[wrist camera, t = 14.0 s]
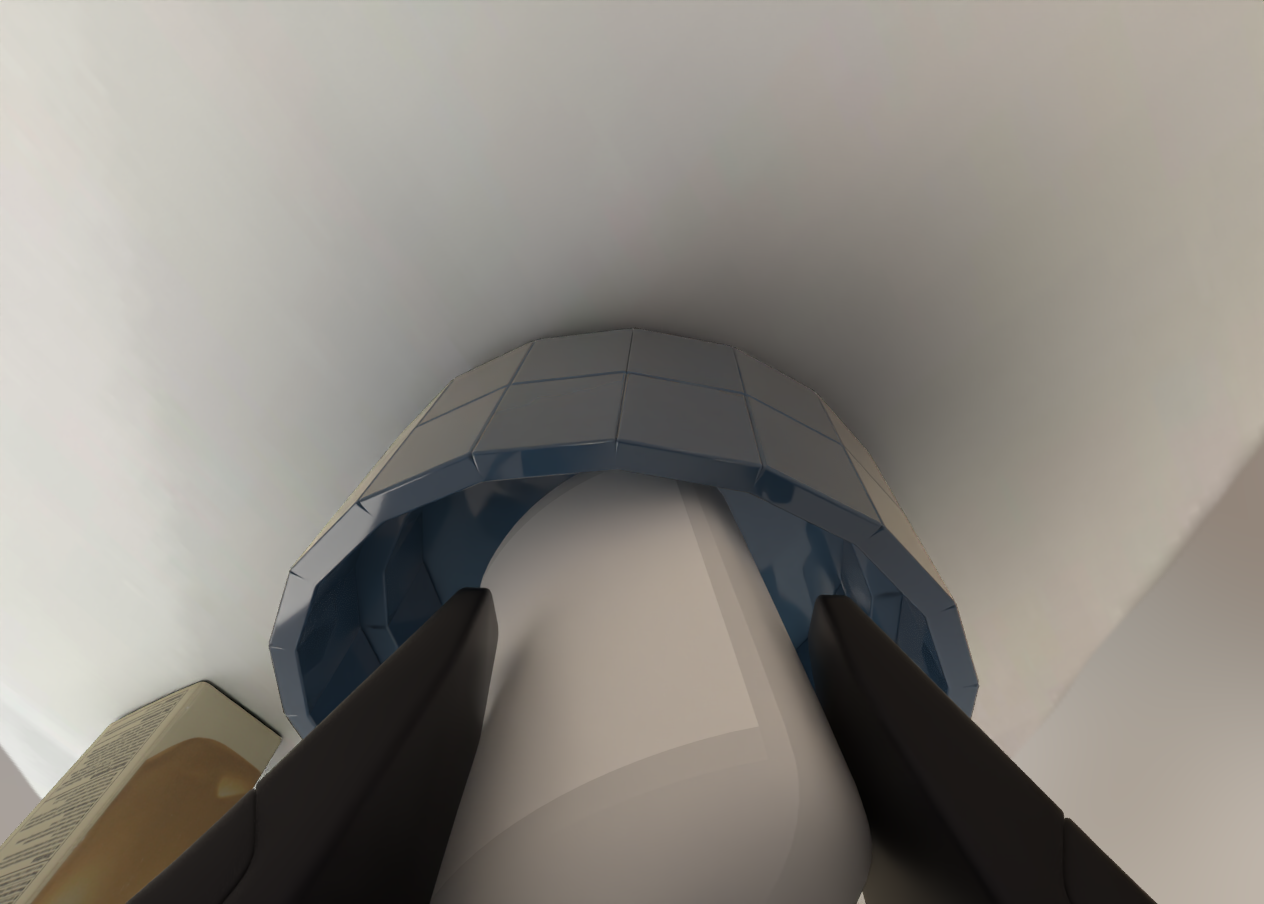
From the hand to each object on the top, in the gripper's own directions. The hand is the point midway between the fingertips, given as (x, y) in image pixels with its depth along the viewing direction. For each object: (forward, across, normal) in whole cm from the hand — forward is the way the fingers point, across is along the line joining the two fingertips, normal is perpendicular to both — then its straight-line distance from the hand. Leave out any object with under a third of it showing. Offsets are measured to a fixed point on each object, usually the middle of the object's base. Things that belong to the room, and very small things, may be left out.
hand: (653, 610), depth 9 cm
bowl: (+8, +1, +6) cm, 10 cm away
